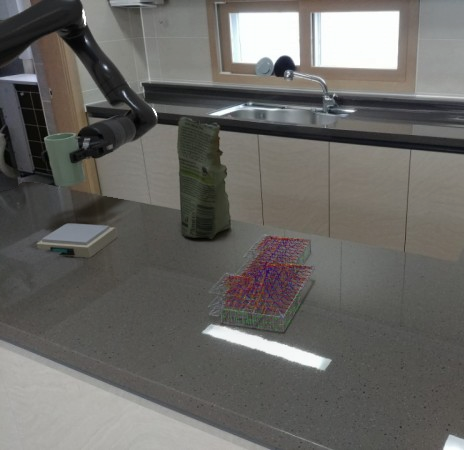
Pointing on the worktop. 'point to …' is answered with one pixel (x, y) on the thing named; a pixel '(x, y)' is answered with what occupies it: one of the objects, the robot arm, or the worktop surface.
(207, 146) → the pouch
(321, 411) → the worktop surface
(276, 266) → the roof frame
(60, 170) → the cup
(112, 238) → the scale
